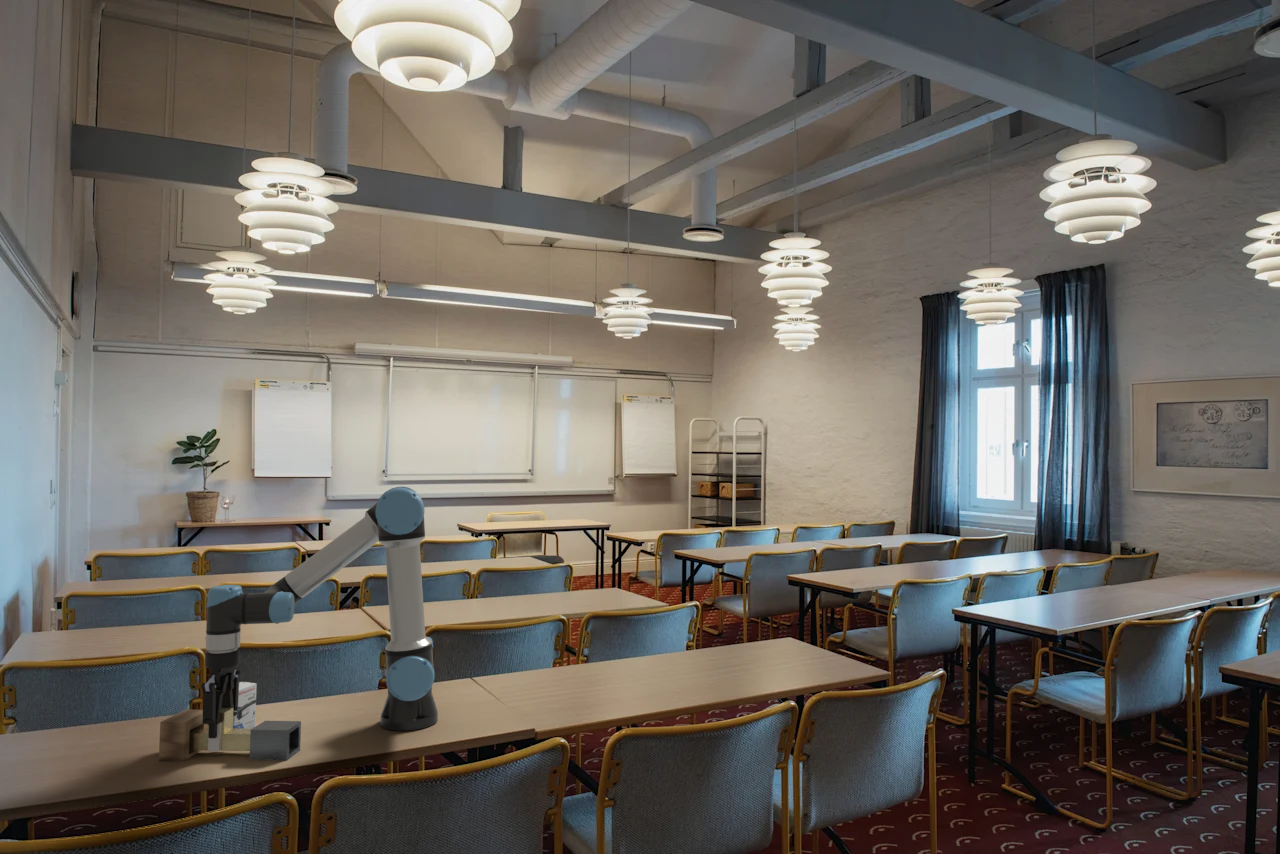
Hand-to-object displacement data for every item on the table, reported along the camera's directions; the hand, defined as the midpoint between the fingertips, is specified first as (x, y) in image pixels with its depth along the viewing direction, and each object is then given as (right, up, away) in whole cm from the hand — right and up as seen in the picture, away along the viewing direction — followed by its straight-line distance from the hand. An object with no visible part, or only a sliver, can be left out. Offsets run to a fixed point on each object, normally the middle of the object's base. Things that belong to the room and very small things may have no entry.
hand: (219, 747), depth 193 cm
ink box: (-4, -3, +17) cm, 18 cm away
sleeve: (+14, -2, 0) cm, 14 cm away
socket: (-9, -2, 0) cm, 9 cm away
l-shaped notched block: (+2, 0, 0) cm, 2 cm away
